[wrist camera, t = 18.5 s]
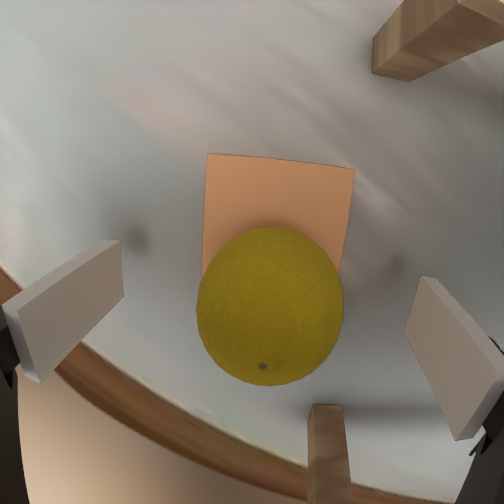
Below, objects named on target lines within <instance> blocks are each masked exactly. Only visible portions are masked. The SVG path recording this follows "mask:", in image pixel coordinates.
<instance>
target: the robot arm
mask: <svg viewBox="0 0 504 504" xmlns="http://www.w3.org/2000/svg"><path fill="white" fill-rule="evenodd" d="M123 297H124V291H123V279H122V266H121V251H120V241H119V240H111V239H105V240H103V241H101V242H100V243H98V244H96V245H94V246H93V247H91V248H89V249H88V250H86V251H84V252H83V253H81V254H79V255H78V256H76V257H74V258H73V259H71V260H70V261H68V262H66V263H65V264H63V265H61V266H60V267H58V268H57V269H55V270H53V271H52V272H50V273H49V274H47V275H46V276H44V277H43V278H41V279H39V280H38V281H36V282H35V283H33V284H32V285H30V286H29V287H27V288H26V289H24V290H23V291H21V292H20V293H18V294H17V295H15V296H14V297H12V298H11V299H10V300H8V301H7V302H5V303H4V304H2V305H1V306H0V504H30V503H29V499H28V494H27V488H26V483H25V477H24V470H23V464H22V457H21V446H20V436H19V423H18V422H19V421H18V389H17V388H18V387H17V384H18V382H17V381H18V380H17V379H18V377H17V373H16V371H15V367H16V366H17V365H18V364H19V363H20V364H21V366H22V368H23V371H24V374H25V376H26V377H28V378H30V379H32V380H34V381H36V382H38V383H42V382H43V381H44V380H45V379H46V378H47V377H48V375H49V374H50V373H51V372H52V371H53V370H54V369H55V368H56V367H57V366H58V364H59V363H60V362H61V361H62V360H63V359H64V358H65V357H66V356H67V355H68V354H69V353H70V352H71V350H72V349H73V348H74V347H75V346H76V345H77V344H78V343H79V342H80V341H81V340H82V339H83V338H84V337H85V336H86V335H87V334H88V333H89V332H90V331H91V330H92V328H93V327H94V326H95V325H96V324H97V323H98V322H99V321H100V320H101V319H102V318H103V317H104V316H105V315H106V314H107V313H108V312H109V311H110V310H111V309H112V308H113V307H114V306H115V305H116V304H117V303H118V302H119V301H120V300H121V299H122V298H123ZM404 333H405V335H406V336H407V338H408V340H409V342H410V344H411V346H412V348H413V350H414V352H415V354H416V356H417V358H418V360H419V362H420V364H421V366H422V368H423V370H424V372H425V374H426V376H427V378H428V381H429V383H430V385H431V387H432V389H433V391H434V393H435V396H436V398H437V400H438V402H439V404H440V407H441V409H442V411H443V414H444V416H445V418H446V420H447V423H448V425H449V428H450V430H451V432H452V435H453V437H454V440H455V441H458V440H464V439H469V438H473V437H474V436H475V434H476V433H477V431H478V430H479V429H480V427H481V426H482V425H483V427H484V429H485V431H486V433H485V434H484V436H483V437H482V438H481V440H480V441H479V442H478V443H477V445H476V446H475V447H474V448H473V450H472V451H471V452H470V454H469V455H470V456H472V455H473V453H474V452H476V454H475V457H474V460H473V462H472V465H471V467H470V470H469V472H468V475H467V477H466V480H465V482H464V484H463V487H462V489H461V491H460V493H459V496H458V498H457V500H456V502H455V504H504V352H503V351H502V350H500V347H499V346H498V345H497V343H496V342H495V341H494V340H493V339H492V338H490V337H489V336H488V335H486V333H485V332H484V331H483V330H482V329H481V327H480V326H479V325H478V324H477V323H476V322H475V320H474V319H473V318H472V317H471V316H470V315H469V314H468V312H467V311H466V310H465V309H464V308H463V307H462V306H461V305H460V304H459V302H458V301H457V300H456V299H455V298H454V297H453V296H452V295H451V294H450V293H449V292H448V290H447V289H446V288H445V287H444V286H443V285H442V284H441V283H440V282H439V281H438V280H437V279H436V278H434V277H425V276H421V277H420V281H419V284H418V288H417V291H416V295H415V298H414V301H413V305H412V308H411V311H410V314H409V317H408V320H407V323H406V326H405V329H404Z"/></svg>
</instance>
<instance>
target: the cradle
mask: <svg viewBox="0 0 504 504" xmlns="http://www.w3.org/2000/svg"><path fill="white" fill-rule="evenodd" d="M503 40H504V0H404V1H403V2H402V3H401V5H400V6H399V7H398V8H397V9H396V11H395V12H394V13H393V14H392V16H391V17H390V18H389V19H388V20H387V22H386V23H385V24H384V25H383V27H382V28H381V29H380V30H379V32H378V33H377V34H376V35H375V36H374V38H373V60H372V73H374V74H378V75H383V76H387V77H391V78H395V79H399V80H403V81H407V82H410V81H413V80H415V79H417V78H419V77H421V76H423V75H425V74H427V73H429V72H431V71H433V70H436V69H438V68H440V67H442V66H444V65H446V64H449V63H451V62H453V61H455V60H458V59H460V58H462V57H464V56H467V55H469V54H471V53H474V52H476V51H478V50H481V49H483V48H486V47H488V46H490V45H493V44H495V43H498V42H500V41H503ZM308 504H353V501H352V489H351V479H350V469H349V460H348V451H347V442H346V434H345V426H344V419H343V412H342V406H339V405H320V404H313V407H312V410H311V413H310V416H309V419H308Z"/></svg>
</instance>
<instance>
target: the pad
mask: <svg viewBox="0 0 504 504" xmlns="http://www.w3.org/2000/svg"><path fill="white" fill-rule="evenodd" d="M354 175H355V170H354V169H349V168H343V167H336V166H329V165H322V164H314V163H306V162H298V161H289V160H280V159H271V158H260V157H249V156H236V155H222V154H207V168H206V185H205V203H204V224H203V250H202V277H203V275H204V273H205V271H206V269H207V267H208V265H209V263H210V261H211V259H212V258H213V257H214V256H215V255H216V254H217V252H218V251H219V250H220V249H221V248H222V247H223V246H224V245H225V244H226V243H227V242H229V241H230V240H232V239H233V238H235V237H237V236H238V235H240V234H241V233H244V232H247V231H250V230H253V229H256V228H259V227H274V226H277V227H282V228H287V229H292V230H295V231H297V232H299V233H301V234H304V235H306V236H308V237H309V238H311V239H312V240H313V241H314V242H315V243H317V244H318V245H319V246H320V247H322V248H323V249H324V251H325V252H326V253H327V255H328V256H329V258H330V259H331V261H332V262H333V264H334V265H335V267H336V269H337V272H338V274H339V269H340V264H341V258H342V253H343V247H344V241H345V236H346V230H347V223H348V217H349V211H350V204H351V197H352V190H353V183H354Z"/></svg>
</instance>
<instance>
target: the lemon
mask: <svg viewBox="0 0 504 504" xmlns="http://www.w3.org/2000/svg"><path fill="white" fill-rule="evenodd" d="M196 313H197V322H198V330H199V334H200V337H201V339H202V341H203V344H204V346H205V348H206V350H207V352H208V353H209V354H210V356H211V357H212V358H213V360H214V361H215V362H216V364H217V365H218V366H220V367H221V368H222V369H223V370H225V371H226V372H227V373H228V374H230V375H232V376H234V377H236V378H238V379H240V380H242V381H244V382H248V383H251V384H255V385H263V386H275V385H284V384H287V383H290V382H293V381H296V380H299V379H301V378H303V377H305V376H307V375H308V374H310V373H312V372H313V371H314V370H315V369H316V368H317V367H318V366H319V365H320V364H322V363H323V362H324V361H325V360H326V359H327V357H328V355H329V354H330V352H331V350H332V349H333V347H334V345H335V344H336V342H337V339H338V336H339V333H340V329H341V325H342V322H343V316H344V298H343V287H342V284H341V281H340V278H339V275H338V272H337V269H336V267H335V265H334V264H333V262H332V261H331V259H330V258H329V256H328V255H327V253H326V252H325V251H324V249H323V248H322V247H320V246H319V245H318V244H317V243H315V242H314V241H313V240H312V239H311V238H309V237H308V236H306V235H304V234H301V233H299V232H297V231H295V230H292V229H287V228H282V227H277V226H274V227H259V228H256V229H253V230H250V231H247V232H244V233H241V234H240V235H238V236H237V237H235V238H233V239H232V240H230V241H229V242H227V243H226V244H225V245H224V246H223V247H222V248H221V249H220V250H219V251H218V252H217V254H216V255H215V256H214V257H213V258H212V259H211V261H210V263H209V265H208V267H207V269H206V271H205V273H204V275H203V277H202V279H201V283H200V287H199V293H198V299H197V305H196Z"/></svg>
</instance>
